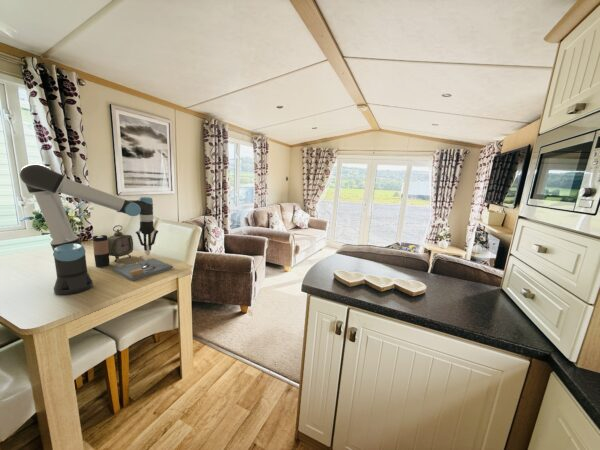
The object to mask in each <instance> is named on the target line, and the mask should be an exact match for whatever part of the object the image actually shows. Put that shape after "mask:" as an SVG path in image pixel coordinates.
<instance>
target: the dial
mask: <svg viewBox="0 0 600 450" xmlns="http://www.w3.org/2000/svg"><path fill="white" fill-rule="evenodd" d="M148 259H149V258H146V256H144V255H139V262H140V263H141V264H142V265H143V266H142V269H148V268H151V267H153V265H151V264H149V265H148Z"/></svg>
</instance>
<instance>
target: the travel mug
mask: <svg viewBox="0 0 600 450" xmlns="http://www.w3.org/2000/svg"><path fill="white" fill-rule="evenodd" d="M107 238H108V235H106V234H102V235H100V236H99V235H93V236H92V247H93V255H94V256H93V257H94V263H95V267H96V268H105V267H108V266H110V265H111V264H110V256H109V248H108V239H107Z"/></svg>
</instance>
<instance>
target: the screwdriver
mask: <svg viewBox="0 0 600 450" xmlns="http://www.w3.org/2000/svg"><path fill="white" fill-rule="evenodd" d="M149 269H153V267H151V268H148V269H144V270H143V269H141V268H140V269H136V270H132V271H129V273H130V276H135V275H139V274H142V273H143V271H146V270H149Z"/></svg>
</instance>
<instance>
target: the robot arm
mask: <svg viewBox="0 0 600 450" xmlns="http://www.w3.org/2000/svg"><path fill="white" fill-rule="evenodd" d="M19 177H20V179H21V181H22V182H23V183H24V184H25V186H26V188H27V191H28V193H29V194H30V195H33V196H34V197H35V200H36V202H37V204H38V207H39V209H40V212H41V214H42V216H43V220H44V222H45V223H46V226H47V228H48V231H49V234H50V236H51V239H52V240H51V241H50V243H49V244H50V247H51V249H52V251H53V254H52V256H53V258H54V259H53V260H54V265H55V273H56V280H55V283H54V286H53V293H54V294H55V295H58V296H68V295H74V294H78V293H83V292H85V291H87V290H90V289H91V288H92V287H94V281H93V279H92V278H91V276H90V275H89V273H88V267H87V257H86V249H85V246H84V245H83V244H82V242H81V240H80V237H79V236H78V235H76V234H74V231H73V228H72V226H71V223H70V220H69V218H68V215H67V212H66V210H65V207H64V204H63V201H62V200H61V197H60V194H59V193H61V194H64V195H66V196H69V197H73V198H76V199H79V200H82V201H85V202H89V203H92V204H95V205H98V206H101V207H105V208H106V209H110V210H114V211H116V212H117V213H122V214H124V215H125V214H126V215H128V216H131V217H136V216H138V215H139V229H138V230H136V231H135V234H136V235H137V238H138V241H139V243H140V246H142V247H143V250H144V251H145V255H146V257H147V256H148V257H149V256H150V251H151V250H152V245H155V241H156V238H157V234H158V233H159V230H158V229H156V228H155V227H154V202H153V198H152V197H150V196H140V197H139V198H138V199H137V200H133V199H132V200H131V199H130V200H129V199H124V198H122V197H119V196H116V195H113V194H112V193H111V194H110V193H108V192H106V191H102V190H100V189H96V188H94V187H91V186H88V185H86V184H83V183H80V182H77V181H74V180H72V179H69V178H67V177H66V175H64V174H61V173H59V172H57V171H54V169H52V168H51V167H50V166H48V165H46V164H42V163H32V164H27V165H25V166H23V167H22V168H21V170H20V171H19ZM141 234H143V235H142V236H143V239H142V237H141ZM152 234H153V235H152ZM151 236H152V237H151ZM147 242H148V243H147Z"/></svg>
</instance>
